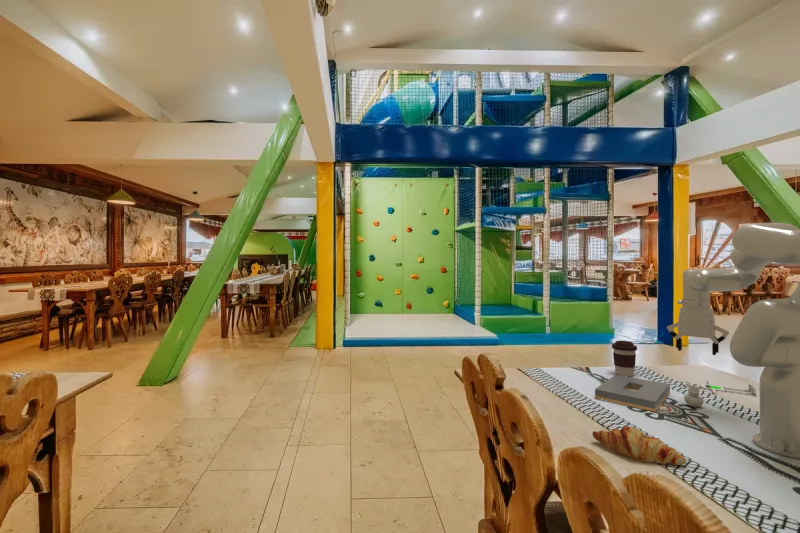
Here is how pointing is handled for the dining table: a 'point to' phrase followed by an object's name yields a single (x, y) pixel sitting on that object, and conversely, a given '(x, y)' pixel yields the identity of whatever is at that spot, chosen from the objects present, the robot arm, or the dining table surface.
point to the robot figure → (721, 388)
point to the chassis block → (633, 392)
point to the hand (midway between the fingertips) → (696, 352)
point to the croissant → (638, 446)
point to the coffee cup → (624, 357)
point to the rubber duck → (693, 397)
